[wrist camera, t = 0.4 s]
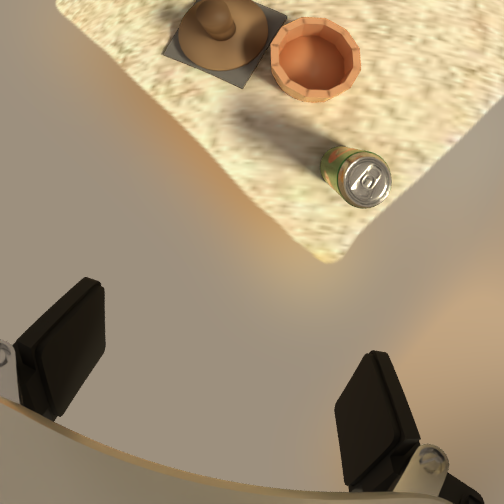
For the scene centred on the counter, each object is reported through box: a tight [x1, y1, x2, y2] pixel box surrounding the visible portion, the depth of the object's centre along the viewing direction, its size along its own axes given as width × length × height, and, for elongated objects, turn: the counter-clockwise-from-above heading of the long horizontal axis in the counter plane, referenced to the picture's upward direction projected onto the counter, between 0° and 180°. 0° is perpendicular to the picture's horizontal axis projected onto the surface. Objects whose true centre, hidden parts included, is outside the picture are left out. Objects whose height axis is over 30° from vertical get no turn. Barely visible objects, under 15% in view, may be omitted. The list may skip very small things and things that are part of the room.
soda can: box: [320, 146, 392, 208], centre depth 30 cm, size 5×5×12 cm
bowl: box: [270, 17, 361, 103], centre depth 29 cm, size 9×9×5 cm
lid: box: [178, 0, 268, 71], centre depth 27 cm, size 10×10×7 cm
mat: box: [163, 0, 287, 89], centre depth 30 cm, size 11×11×1 cm
